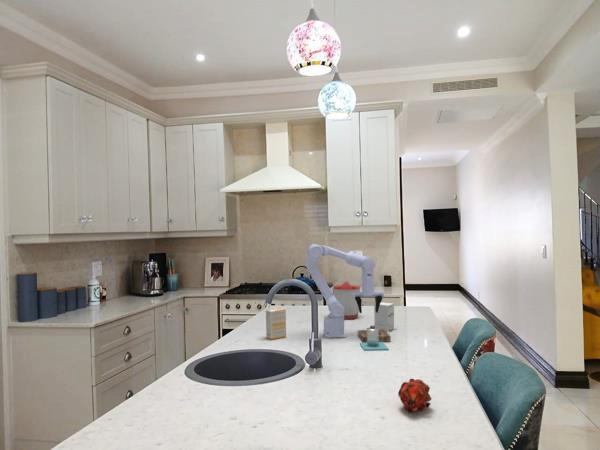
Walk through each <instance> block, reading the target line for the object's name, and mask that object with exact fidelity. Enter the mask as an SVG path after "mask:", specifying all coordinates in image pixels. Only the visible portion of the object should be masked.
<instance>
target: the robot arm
mask: <svg viewBox="0 0 600 450" xmlns="http://www.w3.org/2000/svg"><path fill="white" fill-rule="evenodd" d="M322 256H324V257H326V256H333V257H336V258H338V259H339V258H340V259H341V260H345V262H346V264H347V265H350V266H353V267H356V268H361V291H360V292H359V293H353V298H355V300H356V302H357V305H358V308H359V313H358V314H362V298H374V300H375V301H374V302H375V303H374V304H376V308H375V310H376V313H378V309H379V306H380V303H381V302H382V301H383V298H385V292H383V291H375V267H376V263H375V260H373V258H370V257H368V256H366V255H365V254H364V255H362V254H358V253H357V252H356V251H354V250H353V251H349V252H347V253H346V252H343V251H341V250H338V249H336V248H333V247H332V246H327V245H324V244H323V245H322V244H320V245H319V244H317V243H312V244H310V245H309V247H308V249H307V252H306V259H305V261H306V263H305V268H306V269H307V272H308V273H309V275H310V276H311V278H312V280H313V281H314V283H315V284H316V286H317V289H318V290H319V291H320V293H321V295H322V296H323V298H324V300H325V301H326V303H327V306H328V311H329V314H328V316H324V318H323V334H324V337H325V338H327V339H329V338H331V339H332V338H334V339H335V338H346V337H347V335H346V333H345V319H344V315H343V314H344V307H343V306H342V305H341V303H340V302H339V301H337V300H336V298H335V296H334V295H333V293H332V292H333V290H331V288H330V286H329V285H328V283H327V282H326V280H325V278H324V276H323V275H322V273H321V271H320V269H319V268H318V265H319V264H318V263H319V262H320V261H319V260H320V259H321V258H322Z"/></svg>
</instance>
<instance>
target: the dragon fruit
mask: <svg viewBox="0 0 600 450" xmlns="http://www.w3.org/2000/svg"><path fill="white" fill-rule="evenodd" d="M430 389H431V388H430V386H429V385H428V384H426V383H425V382H424V381H423V380H422V379H421V378H420V379H419V378H417V379H414V378H410V379H409V380H408V381H404V382H403V383H402V384H401V385H400V387H399V390H398V394H397V395H398V397H399V399H400V401H401V403H402V405H403V406H404V408H405V410H406V412H408V413H411V412H418V411H419V410H420V411H424V410H425V409H426V408H427V409H428V408H429V407H431V405H432V404H431V402H430V401H431V400H432V397H431V395H430V393H429V392H430Z"/></svg>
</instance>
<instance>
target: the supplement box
mask: <svg viewBox="0 0 600 450" xmlns="http://www.w3.org/2000/svg"><path fill="white" fill-rule="evenodd" d="M286 315H287V313H286V308H284V307H283V308H282V307H277V308H270V309H265V329H266V330H265V332H266V333H265V334H266V337H265V338H266V339H268V340H270V341H272V340H278V339H282V338H283V339H285V338H287V317H286Z"/></svg>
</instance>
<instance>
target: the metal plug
mask: <svg viewBox="0 0 600 450" xmlns="http://www.w3.org/2000/svg"><path fill="white" fill-rule="evenodd" d="M366 330H367V345H368V346H370V347H377V346H379V334H378V328H376V327H375V325H370V326H369V327H367V328H366Z"/></svg>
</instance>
